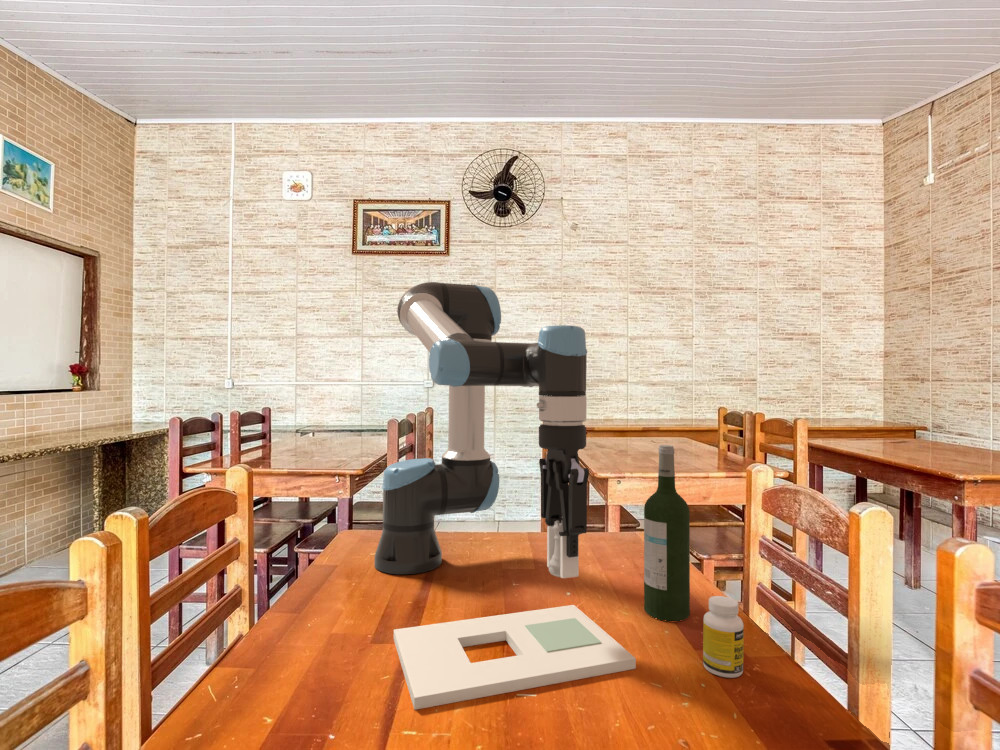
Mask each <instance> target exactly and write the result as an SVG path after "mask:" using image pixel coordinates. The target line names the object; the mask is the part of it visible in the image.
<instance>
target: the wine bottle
mask: <svg viewBox="0 0 1000 750" xmlns="http://www.w3.org/2000/svg"><path fill="white" fill-rule="evenodd" d="M657 474H658V475H657V488H656V491H655V492H654V493H653V494H652V495H650V496H649V497H648V499H646V500H645V501H646V502H645V503H644V508H643V534H644V535H643V536H644V537H643V539H644V540H643V545H644V546H643V564H644V565H643V568H644V569H643V571H644V572H643V573H644V574H643V575H644V576H643V577H644V578H643V586H644V587H643V593H644V594H643V597H644V598H643V601H644V602H643V603H644V604H643V608H644V612H645V613H646V615H647V616H649V615H650V616H649V617H651V616H652V617H651V618H653V617H654V618H653V619H655V618H657V619H656V620H658V619H660V620H659V621H662V620H666V621H665V622H668V621H678V622H681V621H680V620H683V621H685V620H687V619H688V618H689V617H690V615H691V595H690V594H691V588H690V585H691V584H690V583H691V579H690V577H691V573H690V572H691V569H690V568H691V563H690V562H691V561H690V560H691V557H690V556H691V553H690V552H691V551H690V549H691V548H690V547H691V545H690V543H691V541H690V540H691V539H690V536H691V534H690V533H691V529H690V528H691V527H690V518H691V517H690V515H691V513H690V508H689V505H688V503H687V501H686V500H685V499H684V498H683V497H682V496H681V495H680V494H679V493H678V492H677V489H676V480H675V479H676V476H675V474H676V473H675V448H674V445H668V444H662V445H661V444H660V445H659V447H658V473H657ZM686 618H687V619H686ZM684 619H685V620H684Z"/></svg>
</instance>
